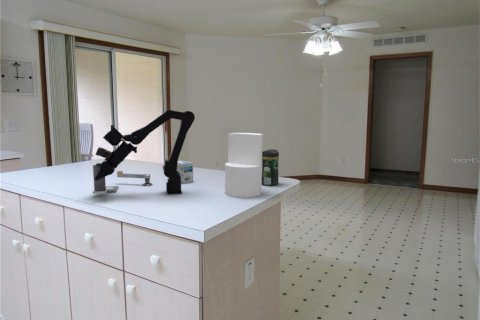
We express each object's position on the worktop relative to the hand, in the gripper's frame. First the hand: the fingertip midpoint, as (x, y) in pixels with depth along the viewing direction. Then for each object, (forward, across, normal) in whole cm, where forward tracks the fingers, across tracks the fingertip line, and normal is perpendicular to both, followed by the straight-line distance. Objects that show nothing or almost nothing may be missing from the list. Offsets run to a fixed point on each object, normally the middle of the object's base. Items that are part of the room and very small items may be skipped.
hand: (96, 178), depth 154 cm
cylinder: (-40, +7, +53) cm, 67 cm away
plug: (+4, 0, +6) cm, 7 cm away
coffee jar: (-53, -8, +66) cm, 85 cm away
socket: (+4, -10, +8) cm, 13 cm away
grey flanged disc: (-10, -18, +21) cm, 29 cm away
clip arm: (-7, -21, +14) cm, 26 cm away
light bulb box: (-22, -24, +34) cm, 47 cm away
